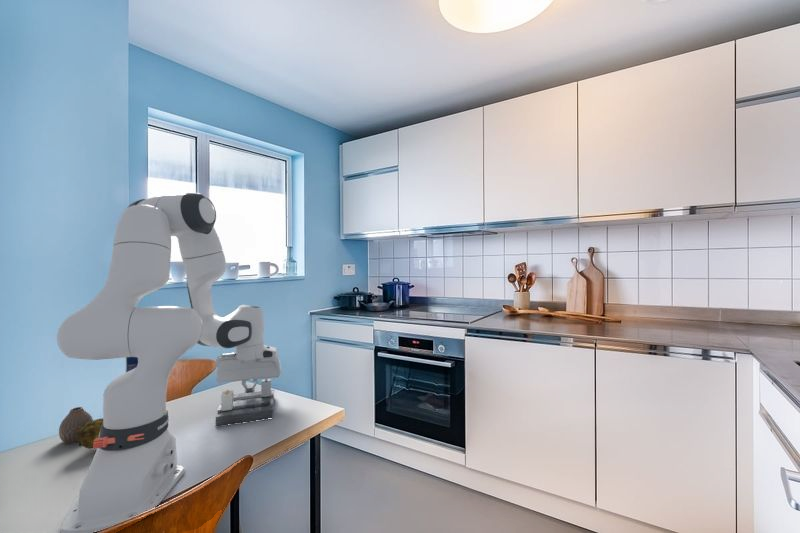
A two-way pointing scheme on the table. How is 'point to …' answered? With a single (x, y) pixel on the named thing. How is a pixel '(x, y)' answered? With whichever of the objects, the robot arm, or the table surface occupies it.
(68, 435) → the vase
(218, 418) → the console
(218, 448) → the table surface
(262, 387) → the fader
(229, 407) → the fader
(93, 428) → the potato
